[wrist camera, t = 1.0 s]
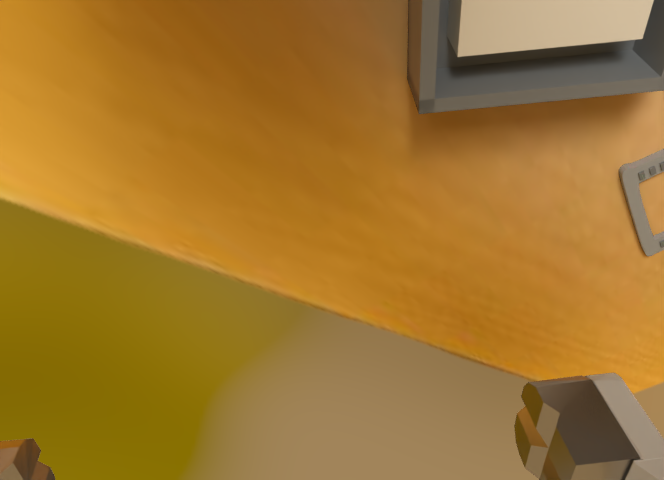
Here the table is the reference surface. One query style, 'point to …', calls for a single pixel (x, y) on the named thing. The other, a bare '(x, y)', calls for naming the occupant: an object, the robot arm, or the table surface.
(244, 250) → the table surface
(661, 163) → the office telephone
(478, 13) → the open box
